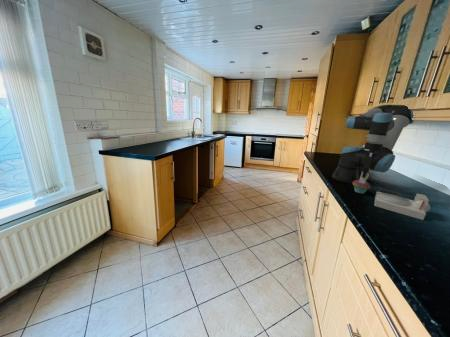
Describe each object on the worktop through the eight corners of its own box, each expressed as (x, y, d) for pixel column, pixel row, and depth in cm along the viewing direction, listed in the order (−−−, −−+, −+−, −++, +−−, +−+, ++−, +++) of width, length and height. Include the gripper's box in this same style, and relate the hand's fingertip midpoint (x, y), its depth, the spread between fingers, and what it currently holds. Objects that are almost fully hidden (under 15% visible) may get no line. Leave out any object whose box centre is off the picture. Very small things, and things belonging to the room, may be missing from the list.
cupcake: (370, 193, 106) (376, 173, 102) (365, 196, 100) (372, 175, 97) (353, 187, 112) (358, 169, 108) (348, 190, 107) (353, 171, 103)
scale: (375, 196, 102) (379, 182, 99) (421, 208, 91) (428, 193, 88) (374, 205, 90) (379, 190, 87) (427, 221, 79) (435, 204, 76)
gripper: (367, 140, 109) (356, 174, 115) (364, 143, 91) (352, 183, 97) (383, 142, 105) (371, 177, 111) (383, 145, 86) (369, 187, 92)
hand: (362, 180), depth 104 cm, fingers open, 13 cm apart
